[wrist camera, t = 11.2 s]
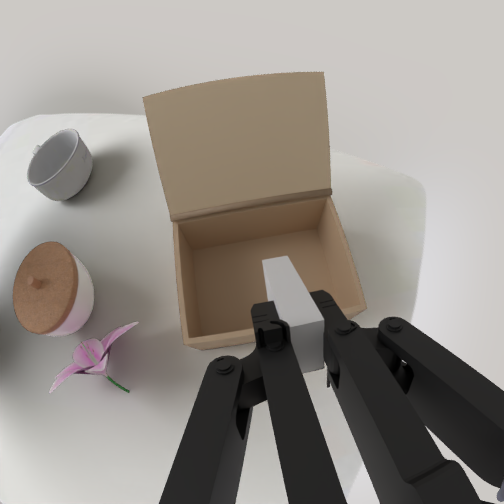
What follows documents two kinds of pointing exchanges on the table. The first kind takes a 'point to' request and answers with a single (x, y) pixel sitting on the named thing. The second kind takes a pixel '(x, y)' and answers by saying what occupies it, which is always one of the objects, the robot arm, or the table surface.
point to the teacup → (60, 166)
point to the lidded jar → (52, 291)
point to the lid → (241, 142)
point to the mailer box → (257, 265)
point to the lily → (92, 357)
